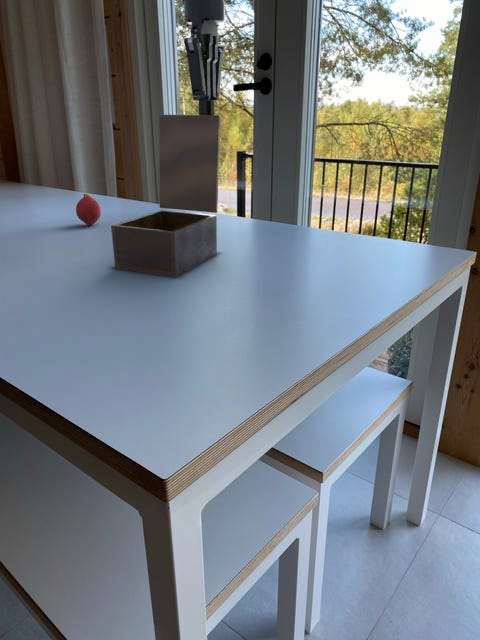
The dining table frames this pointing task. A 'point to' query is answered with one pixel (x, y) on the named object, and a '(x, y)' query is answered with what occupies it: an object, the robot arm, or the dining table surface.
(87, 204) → the onion
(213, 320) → the dining table surface
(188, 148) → the chest lid
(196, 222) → the chest
